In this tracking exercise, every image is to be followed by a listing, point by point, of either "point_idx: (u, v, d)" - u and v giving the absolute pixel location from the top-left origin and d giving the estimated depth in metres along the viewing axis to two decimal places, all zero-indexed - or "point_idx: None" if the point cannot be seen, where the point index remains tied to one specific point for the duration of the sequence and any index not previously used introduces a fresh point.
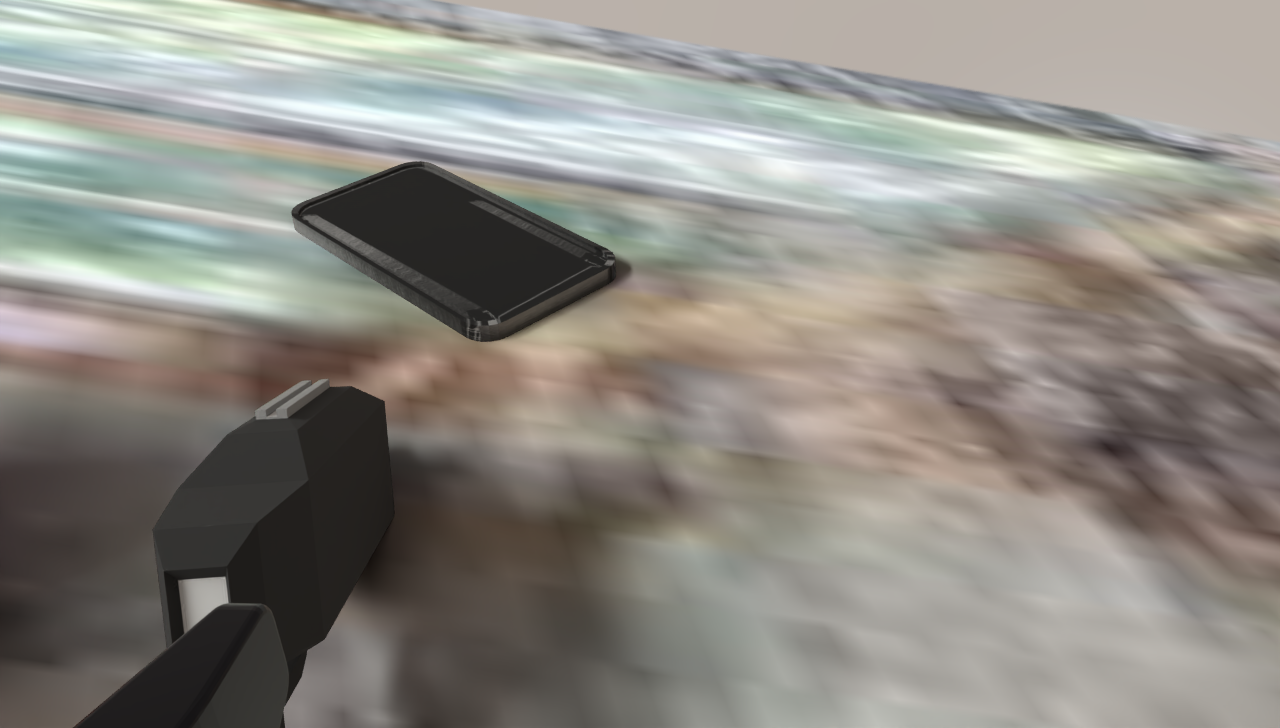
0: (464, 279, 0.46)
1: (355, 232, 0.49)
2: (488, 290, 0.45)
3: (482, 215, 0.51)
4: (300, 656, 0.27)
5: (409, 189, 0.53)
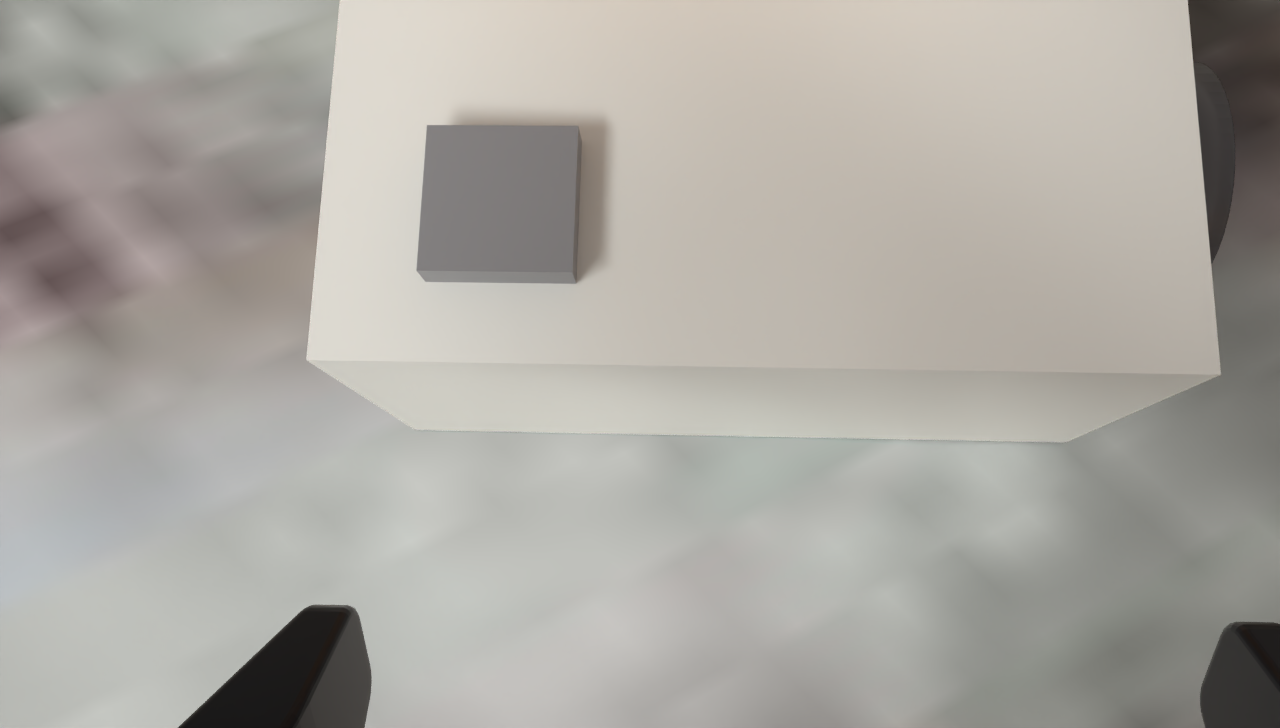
0: None
1: None
2: None
3: None
4: None
5: None
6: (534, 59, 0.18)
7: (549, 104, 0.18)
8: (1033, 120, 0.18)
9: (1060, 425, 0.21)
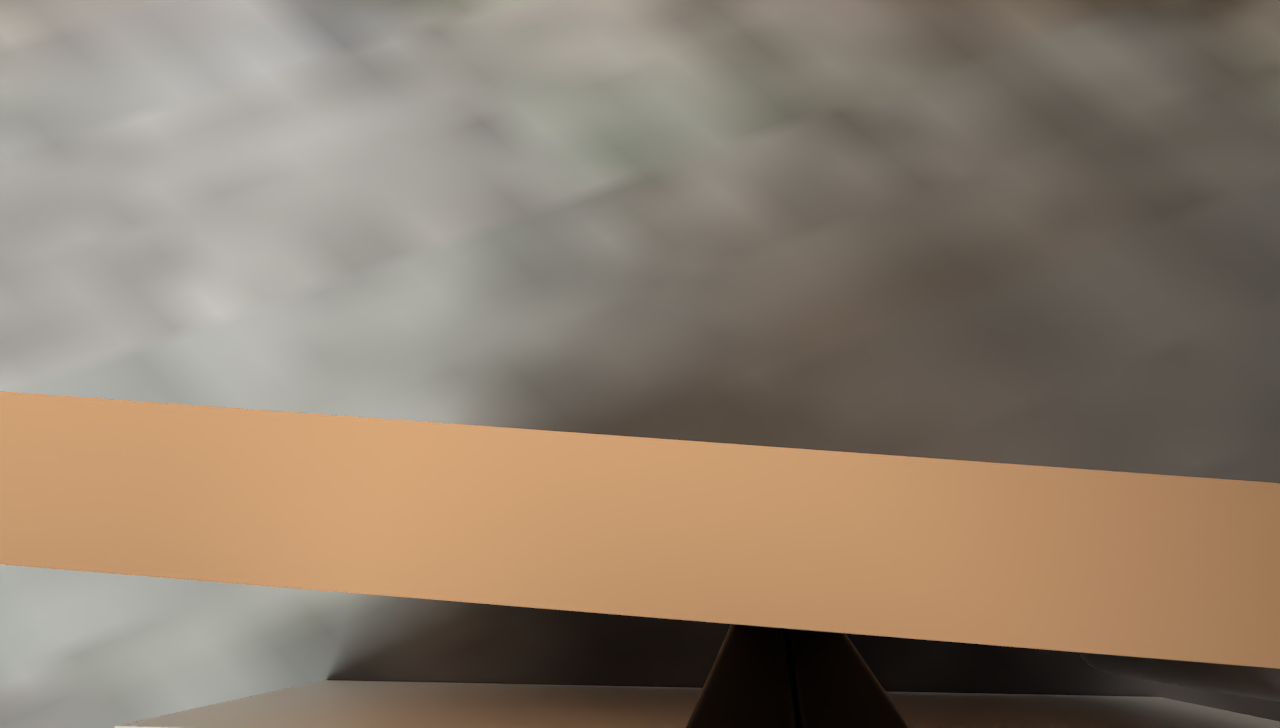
0: None
1: None
2: None
3: None
4: None
5: None
6: None
7: None
8: None
9: None
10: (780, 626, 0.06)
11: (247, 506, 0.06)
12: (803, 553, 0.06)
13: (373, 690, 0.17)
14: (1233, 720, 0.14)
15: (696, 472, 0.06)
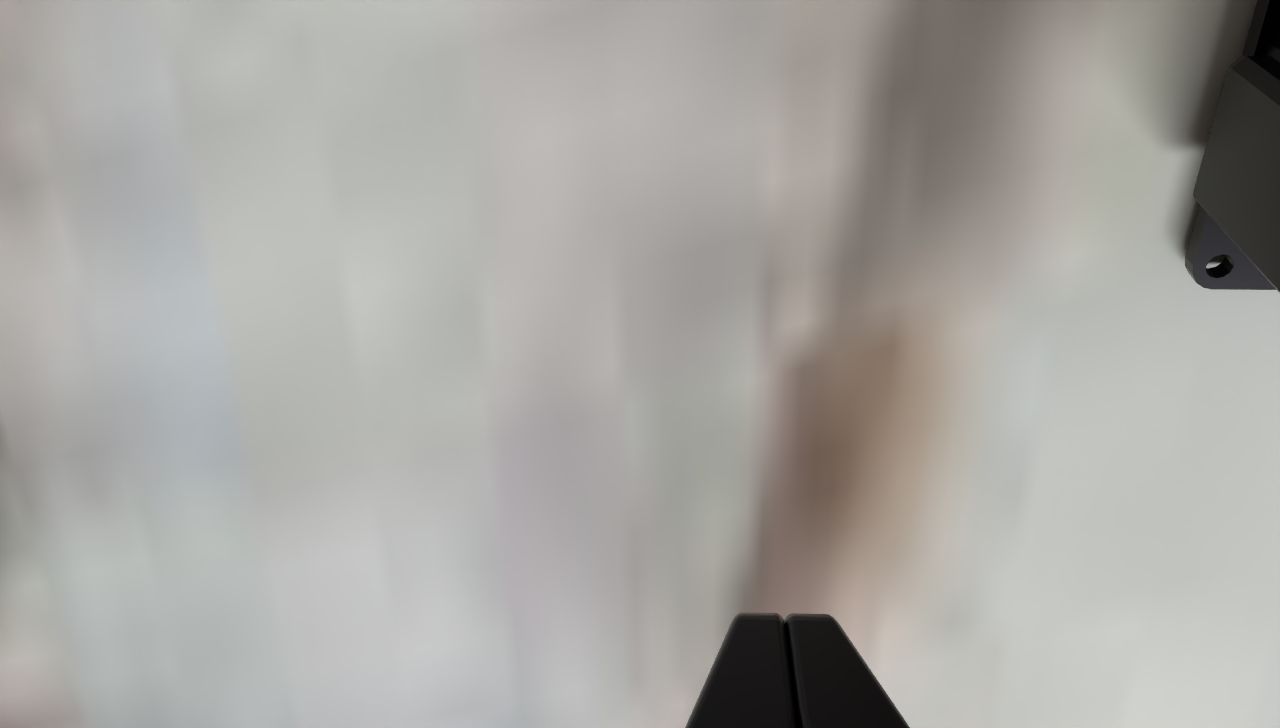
0: None
1: None
2: None
3: None
4: None
5: None
6: None
7: None
8: None
9: None
10: None
11: None
12: None
13: None
14: None
15: None
